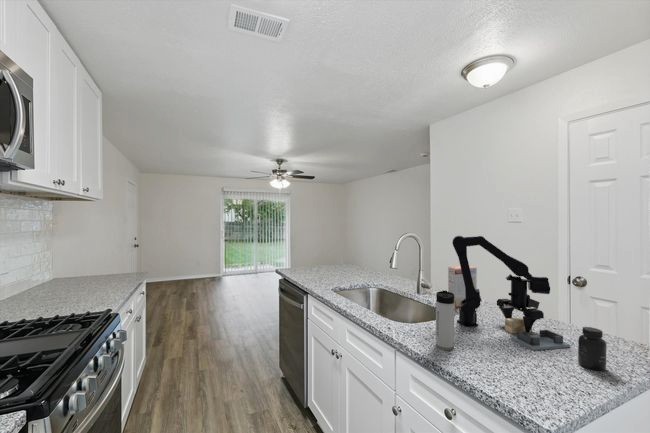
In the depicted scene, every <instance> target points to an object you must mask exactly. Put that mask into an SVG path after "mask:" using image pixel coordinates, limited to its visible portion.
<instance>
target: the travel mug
mask: <svg viewBox="0 0 650 433" xmlns="http://www.w3.org/2000/svg"><path fill="white" fill-rule="evenodd" d="M435 296H436V298H435V299H436V300H435V346H436V347H437V349H439V350H442V351H452V350H454V349H455V308H454V294H453V293H451V292H448V290H442V291H441V290H440V291H437V292H436V294H435Z"/></svg>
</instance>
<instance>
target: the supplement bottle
mask: <svg viewBox="0 0 650 433" xmlns="http://www.w3.org/2000/svg"><path fill="white" fill-rule="evenodd" d="M603 333H604V332H603V330H602V329H599V328H595V327H591V326H584V327H583V326H582V334H581V335H578V339H577V340H578V341H577V342H578V344H577V346H578V347H577V362H578V364H579V365H580V366H582V367H584V368H586V369H587V370H590V371H591V370H592V371H597V372H605V370H606V369H607V348H608V346H607V345H608V344H607V342H606V341H605V340H604V339H603Z"/></svg>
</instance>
